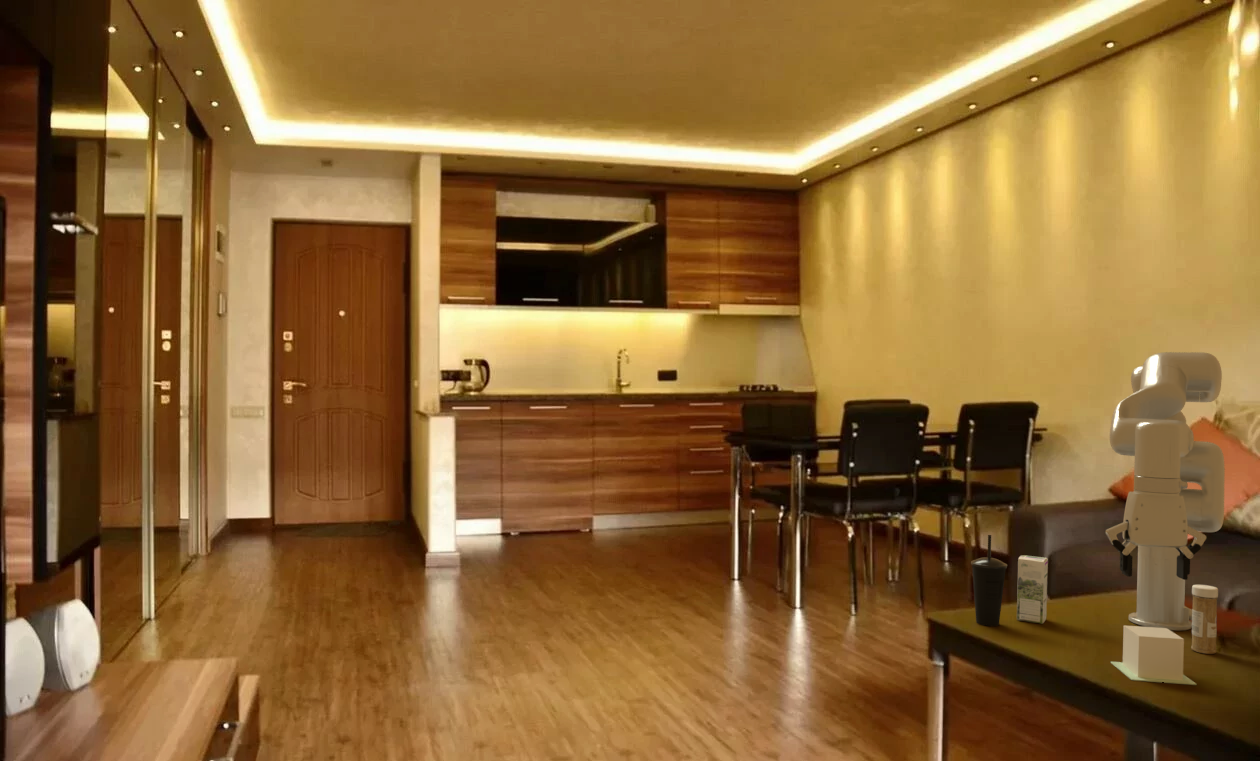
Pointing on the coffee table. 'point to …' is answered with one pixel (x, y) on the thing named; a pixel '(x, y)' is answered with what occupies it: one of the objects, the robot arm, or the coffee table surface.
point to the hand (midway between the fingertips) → (1154, 576)
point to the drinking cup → (988, 588)
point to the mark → (1134, 677)
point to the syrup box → (1032, 589)
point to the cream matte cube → (1153, 652)
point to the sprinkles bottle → (1204, 619)
